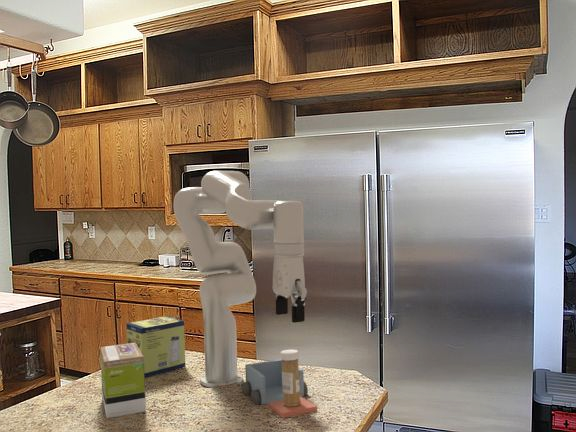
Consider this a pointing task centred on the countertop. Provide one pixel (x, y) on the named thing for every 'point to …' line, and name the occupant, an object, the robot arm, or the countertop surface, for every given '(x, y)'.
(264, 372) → the box
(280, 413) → the panel
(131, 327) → the protein box
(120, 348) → the tea box
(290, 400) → the sprinkles bottle
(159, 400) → the countertop surface
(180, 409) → the countertop surface
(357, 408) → the countertop surface
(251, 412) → the countertop surface
